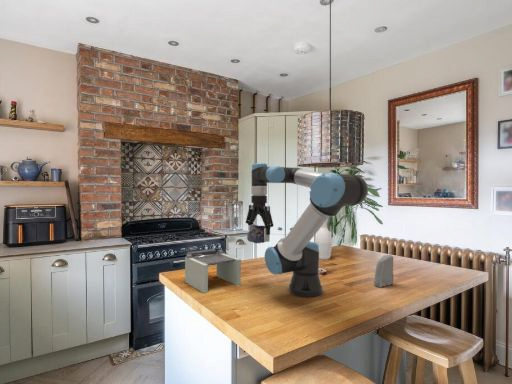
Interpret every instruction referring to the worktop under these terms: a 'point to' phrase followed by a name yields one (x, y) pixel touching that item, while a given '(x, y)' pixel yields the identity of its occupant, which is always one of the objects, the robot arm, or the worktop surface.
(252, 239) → the rock
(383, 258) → the decorative stone
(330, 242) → the bottle
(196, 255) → the trapdoor
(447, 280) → the worktop surface
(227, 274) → the frame
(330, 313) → the worktop surface
